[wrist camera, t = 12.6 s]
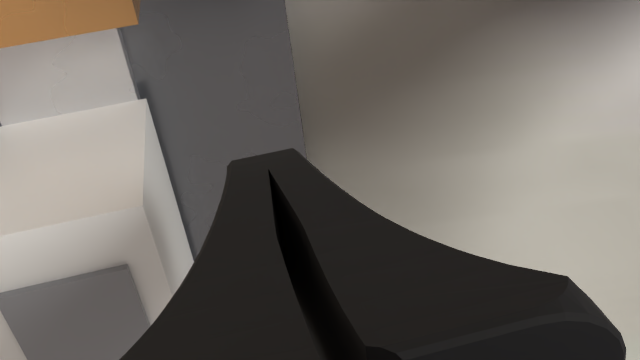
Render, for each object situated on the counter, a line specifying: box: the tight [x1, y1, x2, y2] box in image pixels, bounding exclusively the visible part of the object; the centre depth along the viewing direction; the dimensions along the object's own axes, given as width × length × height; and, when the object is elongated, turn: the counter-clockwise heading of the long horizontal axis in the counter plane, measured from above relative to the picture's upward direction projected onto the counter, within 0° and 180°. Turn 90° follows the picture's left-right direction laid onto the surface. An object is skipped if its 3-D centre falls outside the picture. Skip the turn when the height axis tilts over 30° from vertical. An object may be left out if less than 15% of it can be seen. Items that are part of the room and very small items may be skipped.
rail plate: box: [0, 0, 307, 261], centre depth 21 cm, size 14×18×3 cm
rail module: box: [0, 98, 194, 360], centre depth 18 cm, size 4×8×6 cm, turn 7°
